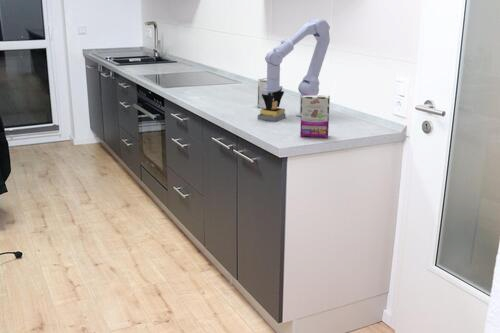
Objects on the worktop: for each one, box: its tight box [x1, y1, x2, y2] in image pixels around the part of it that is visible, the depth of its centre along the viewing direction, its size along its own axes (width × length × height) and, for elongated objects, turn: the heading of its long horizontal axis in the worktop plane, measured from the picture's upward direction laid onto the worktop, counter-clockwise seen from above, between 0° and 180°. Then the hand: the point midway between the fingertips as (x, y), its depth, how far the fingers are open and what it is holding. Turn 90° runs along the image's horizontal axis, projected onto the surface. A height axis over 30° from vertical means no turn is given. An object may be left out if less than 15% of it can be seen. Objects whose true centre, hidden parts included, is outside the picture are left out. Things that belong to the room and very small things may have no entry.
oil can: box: [268, 99, 278, 111], centre depth 257 cm, size 5×5×7 cm
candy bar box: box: [299, 94, 331, 139], centre depth 225 cm, size 11×5×16 cm, turn 80°
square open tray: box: [257, 107, 287, 123], centre depth 257 cm, size 9×10×4 cm
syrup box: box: [257, 77, 273, 109], centre depth 280 cm, size 6×6×14 cm
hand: (272, 108), depth 257 cm, fingers open, 7 cm apart
